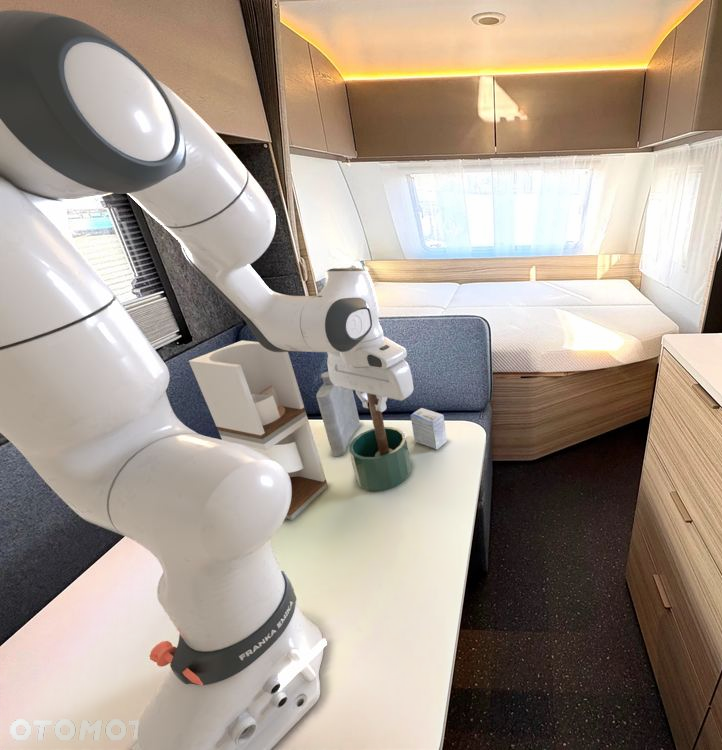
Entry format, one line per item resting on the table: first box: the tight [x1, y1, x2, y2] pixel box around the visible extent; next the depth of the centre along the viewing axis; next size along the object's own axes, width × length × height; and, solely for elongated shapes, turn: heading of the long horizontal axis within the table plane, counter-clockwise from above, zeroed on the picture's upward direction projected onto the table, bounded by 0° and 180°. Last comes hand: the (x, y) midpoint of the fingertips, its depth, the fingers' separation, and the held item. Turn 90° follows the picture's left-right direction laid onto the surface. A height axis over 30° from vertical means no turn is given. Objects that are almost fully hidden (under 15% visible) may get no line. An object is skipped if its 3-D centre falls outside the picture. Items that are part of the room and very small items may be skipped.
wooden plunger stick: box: [367, 393, 394, 457], centre depth 86 cm, size 4×4×22 cm
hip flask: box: [315, 371, 361, 457], centre depth 102 cm, size 16×4×20 cm, turn 1°
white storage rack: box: [188, 340, 328, 521], centre depth 79 cm, size 11×11×35 cm
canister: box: [348, 426, 412, 492], centre depth 91 cm, size 13×13×9 cm
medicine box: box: [410, 407, 448, 451], centre depth 102 cm, size 8×4×9 cm, turn 58°
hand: (375, 408), depth 83 cm, fingers closed on wooden plunger stick, 2 cm apart
